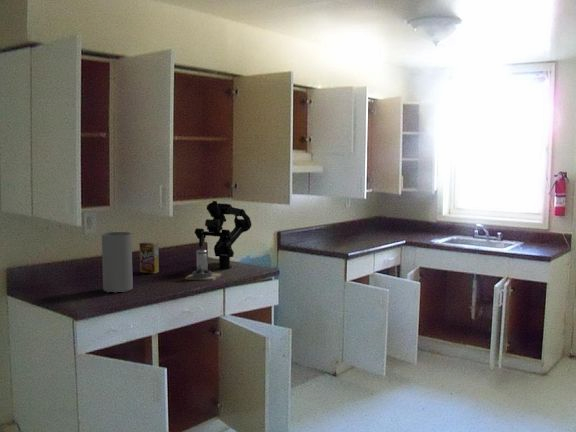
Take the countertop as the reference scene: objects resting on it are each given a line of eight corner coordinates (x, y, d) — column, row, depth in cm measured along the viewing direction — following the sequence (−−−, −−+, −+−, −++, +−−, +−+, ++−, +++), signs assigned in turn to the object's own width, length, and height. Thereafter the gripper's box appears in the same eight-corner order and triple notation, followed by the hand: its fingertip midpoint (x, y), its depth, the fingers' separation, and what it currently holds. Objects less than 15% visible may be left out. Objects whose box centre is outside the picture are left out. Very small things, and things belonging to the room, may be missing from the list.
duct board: (195, 273, 294) (195, 271, 294) (222, 275, 291) (222, 273, 291) (185, 279, 280) (185, 277, 280) (212, 280, 277) (212, 278, 277)
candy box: (139, 272, 296) (138, 242, 295) (144, 271, 300) (143, 241, 299) (154, 273, 293) (153, 243, 292) (159, 272, 297) (158, 242, 296)
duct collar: (196, 273, 289) (196, 269, 288) (214, 274, 287) (214, 270, 286) (190, 277, 280) (190, 273, 280) (207, 278, 278) (207, 274, 278)
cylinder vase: (101, 288, 260) (99, 232, 258) (129, 285, 266) (128, 231, 263) (105, 294, 249) (104, 236, 247) (135, 291, 255) (134, 234, 252)
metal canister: (196, 275, 286) (196, 249, 284) (208, 274, 286) (207, 249, 285) (196, 277, 280) (196, 251, 279) (208, 277, 281) (207, 251, 280)
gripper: (195, 212, 297) (185, 236, 288) (229, 213, 291) (220, 238, 282) (202, 226, 305) (193, 250, 296) (235, 227, 300) (227, 252, 290)
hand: (208, 247), depth 291 cm, fingers open, 9 cm apart
